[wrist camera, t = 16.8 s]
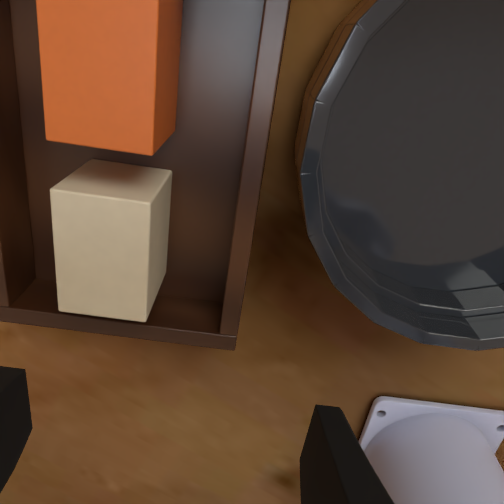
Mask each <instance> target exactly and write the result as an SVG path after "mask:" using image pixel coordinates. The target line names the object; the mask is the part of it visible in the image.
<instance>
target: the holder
mask: <svg viewBox="0 0 504 504" xmlns="http://www.w3.org/2000/svg"><path fill="white" fill-rule="evenodd" d="M290 3H291V0H183V10H182V26H181V42H180V58H179V74H178V91H177V107H176V123H175V131H174V132H173V134H172V135H171V136H170V137H169V138H168V139H167V140H166V141H165V142H164V144H163V145H162V146H161V147H160V148H159V149H158V150H157V151H156V152H155V153H154V155H152V156H149V155H142V154H135V153H128V152H121V151H114V150H108V149H101V148H94V147H87V146H80V145H74V144H67V143H60V142H53V141H48V140H46V134H45V120H44V106H43V92H42V78H41V65H40V51H39V37H38V23H37V10H36V0H0V321H4V322H12V323H19V324H27V325H35V326H43V327H51V328H59V329H67V330H75V331H83V332H91V333H99V334H106V335H114V336H122V337H130V338H138V339H146V340H154V341H162V342H170V343H178V344H186V345H193V346H201V347H209V348H217V349H225V350H233V351H234V350H235V346H236V340H237V334H238V327H239V321H240V315H241V309H242V302H243V296H244V290H245V284H246V277H247V271H248V265H249V259H250V252H251V246H252V240H253V234H254V228H255V221H256V215H257V209H258V203H259V196H260V190H261V184H262V178H263V171H264V165H265V159H266V153H267V146H268V140H269V134H270V128H271V121H272V115H273V109H274V103H275V96H276V90H277V84H278V78H279V71H280V65H281V59H282V53H283V46H284V40H285V34H286V28H287V21H288V15H289V9H290ZM91 159H97V160H104V161H110V162H117V163H124V164H131V165H138V166H145V167H152V168H159V169H166V170H171V171H172V185H171V201H170V218H169V234H168V250H167V266H166V274H165V276H164V278H163V281H162V283H161V286H160V288H159V291H158V293H157V296H156V298H155V301H154V303H153V306H152V308H151V311H150V313H149V316H148V318H147V320H146V322H139V321H131V320H123V319H116V318H108V317H100V316H92V315H84V314H77V313H69V312H61V311H59V310H58V298H57V284H56V270H55V256H54V243H53V229H52V215H51V201H50V189H51V188H52V187H54V186H55V185H56V184H58V183H59V182H60V181H62V180H63V179H65V178H66V177H67V176H69V175H70V174H71V173H73V172H74V171H76V170H77V169H78V168H80V167H81V166H82V165H84V164H85V163H87V162H88V161H89V160H91Z"/></svg>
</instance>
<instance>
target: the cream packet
mask: <svg viewBox="0 0 504 504" xmlns="http://www.w3.org/2000/svg"><path fill="white" fill-rule="evenodd" d="M171 185H172V171H171V170H166V169H159V168H152V167H145V166H138V165H131V164H124V163H117V162H110V161H104V160H97V159H91V160H89V161H88V162H87V163H85V164H84V165H82V166H81V167H80V168H78V169H77V170H76V171H74V172H73V173H71V174H70V175H69V176H67V177H66V178H65V179H63V180H62V181H60V182H59V183H58V184H56V185H55V186H54V187H52V188H51V189H50V201H51V215H52V229H53V243H54V256H55V270H56V284H57V298H58V310H59V311H61V312H69V313H77V314H84V315H92V316H100V317H108V318H116V319H123V320H131V321H139V322H146V320H147V318H148V316H149V313H150V311H151V308H152V306H153V303H154V301H155V298H156V296H157V293H158V291H159V288H160V286H161V283H162V281H163V278H164V276H165V274H166V266H167V250H168V234H169V218H170V201H171Z"/></svg>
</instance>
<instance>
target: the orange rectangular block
mask: <svg viewBox="0 0 504 504" xmlns="http://www.w3.org/2000/svg"><path fill="white" fill-rule="evenodd" d="M36 10H37V23H38V37H39V51H40V65H41V78H42V92H43V106H44V120H45V134H46V140H48V141H53V142H60V143H67V144H74V145H80V146H87V147H94V148H101V149H108V150H114V151H121V152H128V153H135V154H142V155H149V156H152V155H154V153H155V152H156V151H157V150H158V149H159V148H160V147H161V146H162V145H163V144H164V142H165V141H166V140H167V139H168V138H169V137H170V136H171V135H172V134H173V132H174V131H175V123H176V107H177V91H178V74H179V58H180V42H181V26H182V10H183V0H36Z"/></svg>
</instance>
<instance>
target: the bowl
mask: <svg viewBox="0 0 504 504" xmlns="http://www.w3.org/2000/svg"><path fill="white" fill-rule="evenodd" d="M294 158H295V166H296V173H297V181H298V189H299V197H300V204H301V209H302V213H303V217H304V222H305V227H306V231H307V235H308V238H309V240H310V242H311V244H312V246H313V247H314V249H315V251H316V253H317V255H318V257H319V259H320V261H321V263H322V265H323V267H324V269H325V271H326V273H327V275H328V277H329V279H330V281H331V283H332V284H333V285H334V287H335V288H336V289H337V290H338V291H339V292H341V293H342V294H343V295H344V296H345V297H346V298H347V299H348V300H349V301H350V302H351V303H353V304H354V305H355V306H356V307H357V308H358V309H359V310H360V311H361V312H362V313H363V314H365V315H366V316H367V317H368V318H369V319H370V320H371V321H373V322H374V323H376V324H378V325H380V326H383V327H385V328H387V329H389V330H392V331H394V332H396V333H399V334H401V335H403V336H405V337H408V338H410V339H412V340H414V341H417V342H419V343H423V344H429V345H437V346H445V347H452V348H460V349H468V350H475V351H476V350H487V349H496V348H504V0H362V1H361V2H360V3H359V4H358V5H357V6H356V7H355V8H354V9H353V10H352V11H351V13H350V14H349V15H348V16H347V17H346V18H345V19H344V20H343V21H342V22H341V23H340V26H338V27H337V29H336V31H335V33H334V35H333V37H332V39H331V40H330V42H329V44H328V46H327V48H326V50H325V52H324V54H323V56H322V58H321V60H320V62H319V64H318V66H317V68H316V70H315V71H314V73H313V75H312V77H311V79H310V81H309V83H308V85H307V87H306V90H305V94H304V99H303V104H302V109H301V115H300V120H299V125H298V131H297V136H296V141H295V147H294Z"/></svg>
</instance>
